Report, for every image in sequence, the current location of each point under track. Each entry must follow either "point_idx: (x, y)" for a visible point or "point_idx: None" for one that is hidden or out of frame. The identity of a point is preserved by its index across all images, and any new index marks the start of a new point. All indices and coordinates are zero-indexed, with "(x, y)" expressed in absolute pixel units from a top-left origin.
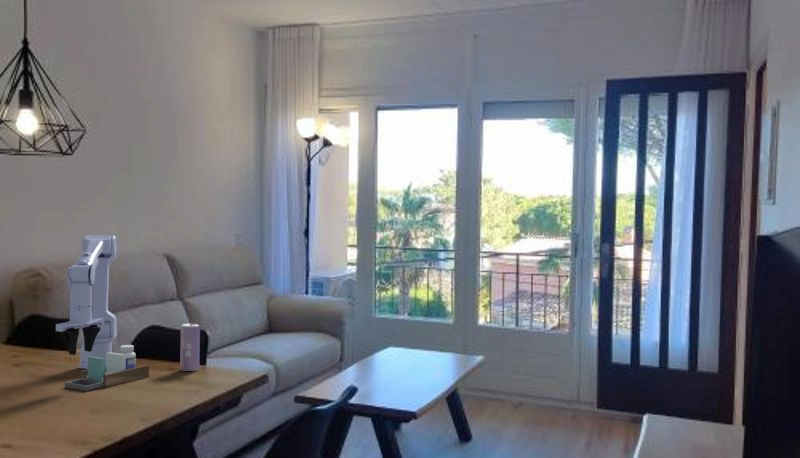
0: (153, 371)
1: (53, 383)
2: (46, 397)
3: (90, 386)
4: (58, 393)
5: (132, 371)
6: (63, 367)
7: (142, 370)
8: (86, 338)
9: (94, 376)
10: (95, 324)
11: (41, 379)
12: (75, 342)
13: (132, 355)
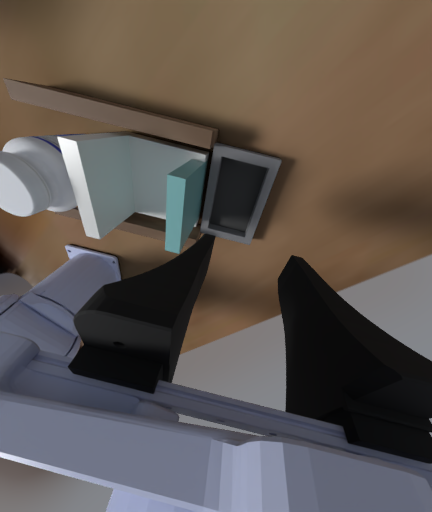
0: (8, 125)
1: (225, 275)
2: (349, 220)
3: (265, 155)
4: (305, 218)
5: (93, 100)
6: None
7: (50, 88)
8: (192, 302)
9: (199, 197)
10: (80, 376)
11: (208, 303)
12: (330, 299)
13: (25, 140)
